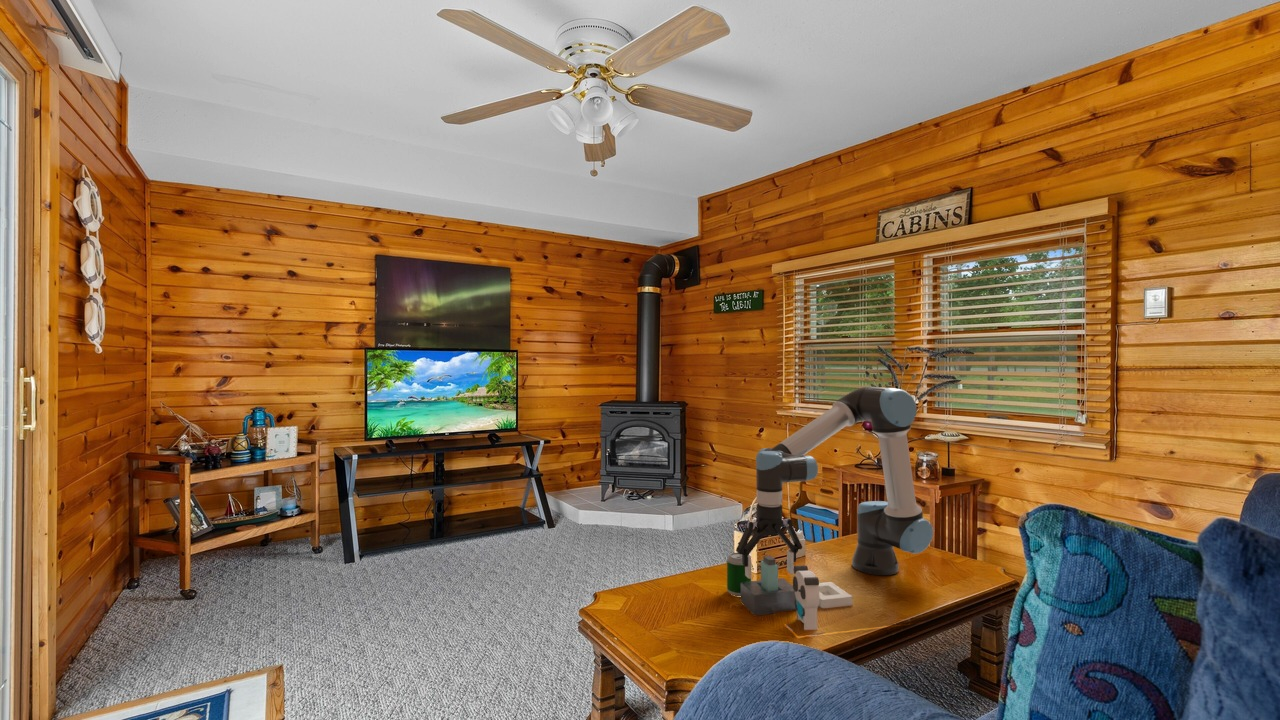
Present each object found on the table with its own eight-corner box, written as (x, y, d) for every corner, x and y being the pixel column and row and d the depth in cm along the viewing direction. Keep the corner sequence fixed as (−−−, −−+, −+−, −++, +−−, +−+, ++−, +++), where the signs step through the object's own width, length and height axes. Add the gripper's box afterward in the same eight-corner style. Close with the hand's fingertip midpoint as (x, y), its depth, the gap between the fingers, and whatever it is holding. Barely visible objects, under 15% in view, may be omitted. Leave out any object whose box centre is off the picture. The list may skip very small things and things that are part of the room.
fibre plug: (770, 595, 185) (770, 554, 184) (778, 602, 180) (778, 559, 180) (760, 596, 184) (760, 555, 184) (768, 603, 179) (768, 560, 179)
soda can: (751, 599, 187) (751, 560, 187) (726, 597, 188) (726, 558, 188) (751, 590, 194) (751, 552, 194) (727, 588, 196) (727, 551, 196)
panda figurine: (780, 616, 175) (780, 564, 175) (819, 615, 176) (819, 563, 175) (792, 635, 163) (792, 580, 163) (834, 634, 164) (834, 579, 163)
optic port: (783, 597, 188) (783, 578, 188) (798, 610, 179) (798, 590, 178) (740, 601, 185) (740, 582, 185) (754, 615, 175) (754, 595, 175)
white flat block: (831, 591, 193) (831, 581, 193) (852, 606, 181) (852, 596, 181) (802, 594, 191) (802, 584, 191) (822, 610, 179) (822, 599, 179)
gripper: (801, 498, 188) (801, 566, 188) (725, 503, 182) (725, 574, 183) (813, 504, 181) (813, 575, 181) (734, 509, 175) (734, 583, 175)
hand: (769, 575), depth 182 cm, fingers open, 13 cm apart
